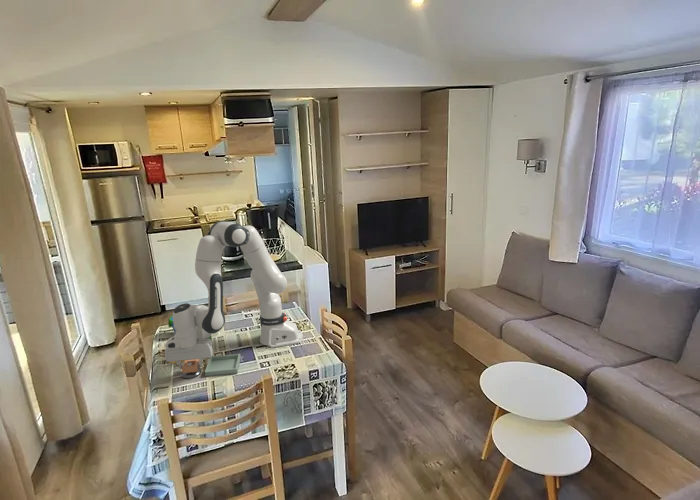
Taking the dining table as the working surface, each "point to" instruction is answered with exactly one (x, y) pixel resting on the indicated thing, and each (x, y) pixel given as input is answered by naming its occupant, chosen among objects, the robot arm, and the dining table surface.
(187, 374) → the silver knobbed lid
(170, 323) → the snack cup
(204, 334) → the grey tall box
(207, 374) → the tray
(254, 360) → the dining table surface
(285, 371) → the dining table surface
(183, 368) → the orange hollow square block
